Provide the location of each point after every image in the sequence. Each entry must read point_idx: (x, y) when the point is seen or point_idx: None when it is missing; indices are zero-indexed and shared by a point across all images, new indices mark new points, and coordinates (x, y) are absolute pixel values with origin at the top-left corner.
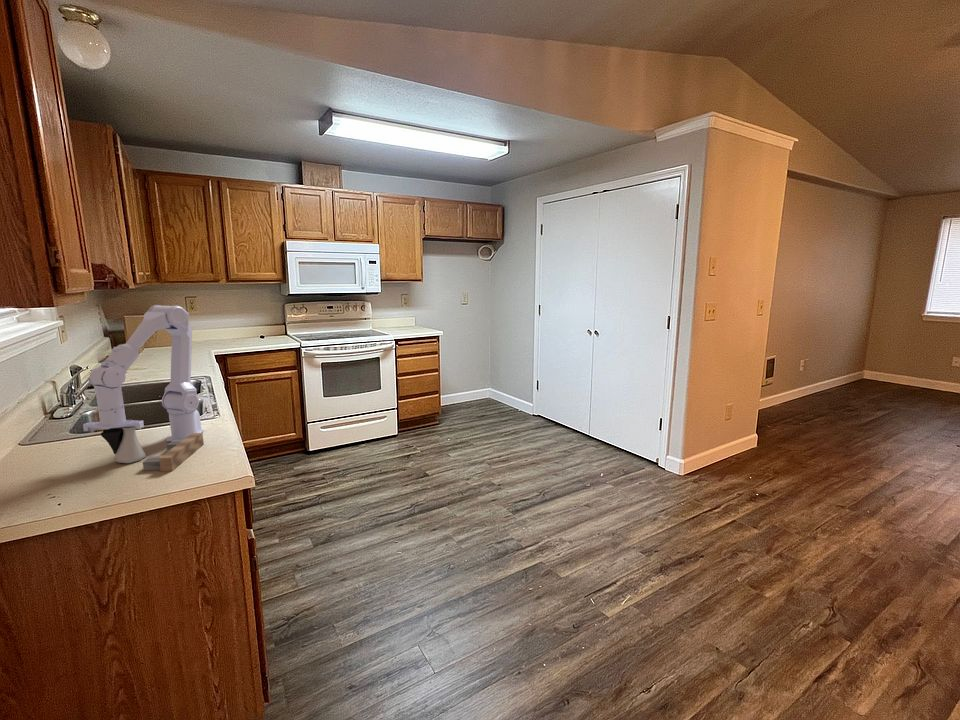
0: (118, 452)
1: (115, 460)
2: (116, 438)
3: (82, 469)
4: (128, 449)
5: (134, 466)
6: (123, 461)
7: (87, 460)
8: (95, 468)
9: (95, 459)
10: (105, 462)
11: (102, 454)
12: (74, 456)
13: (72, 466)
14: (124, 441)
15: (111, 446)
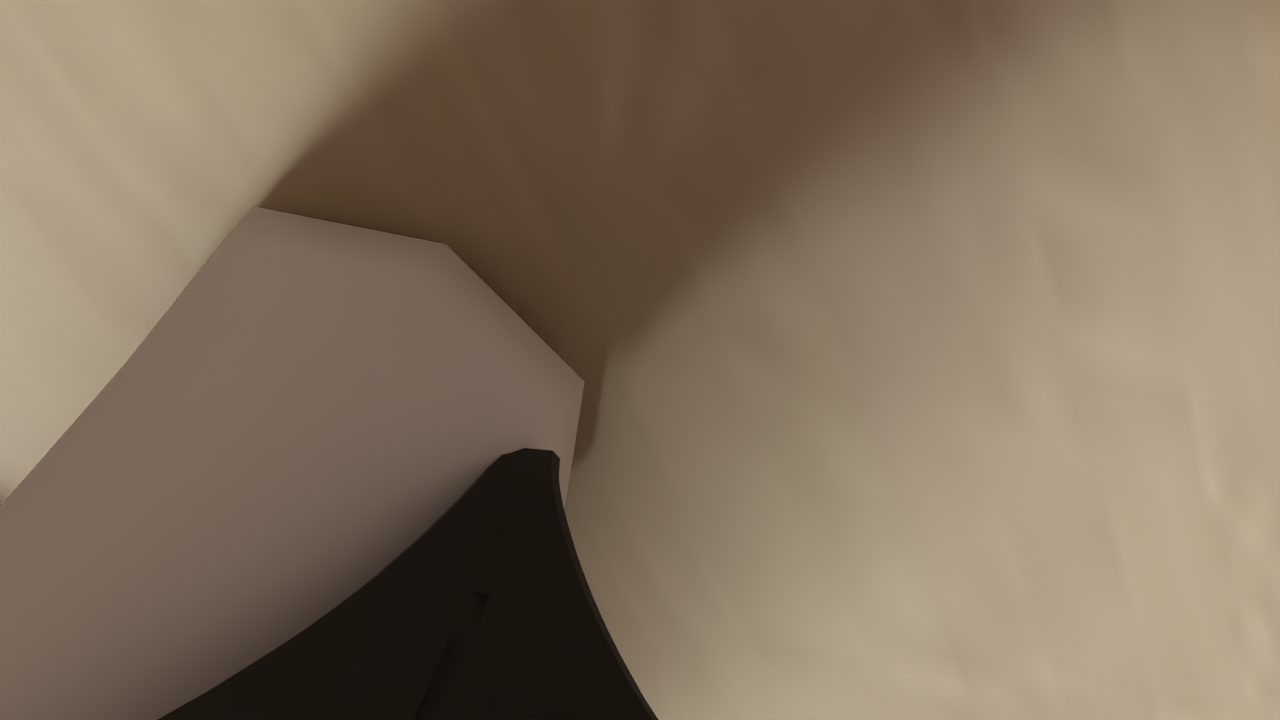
0: (425, 420)
1: (519, 324)
2: (188, 715)
3: (991, 173)
4: (106, 393)
5: (96, 74)
6: (338, 240)
7: (1025, 543)
8: (786, 163)
9: (927, 554)
10: (733, 405)
11: (896, 698)
12: (1223, 706)
13: (1179, 359)
14: (78, 615)
15: (547, 545)
